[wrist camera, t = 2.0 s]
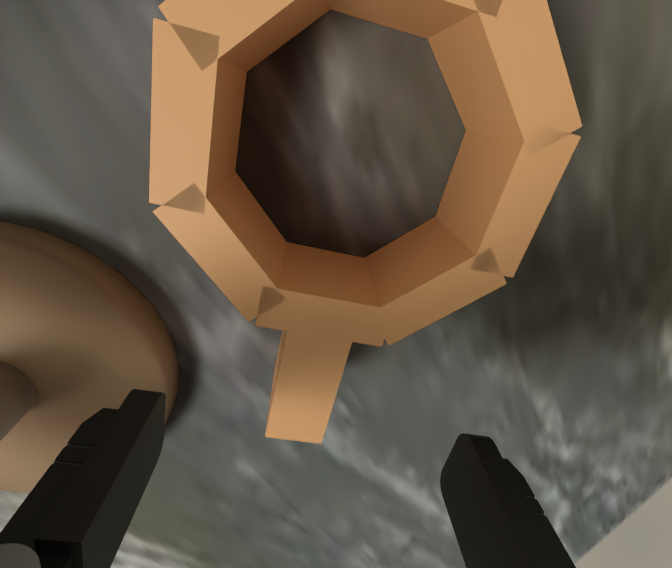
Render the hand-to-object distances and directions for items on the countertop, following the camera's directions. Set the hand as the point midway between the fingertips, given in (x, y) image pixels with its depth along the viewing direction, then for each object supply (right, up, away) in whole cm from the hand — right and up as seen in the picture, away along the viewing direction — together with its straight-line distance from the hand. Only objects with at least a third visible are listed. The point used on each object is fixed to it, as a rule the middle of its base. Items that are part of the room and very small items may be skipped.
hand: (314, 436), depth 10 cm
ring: (+1, +6, +2) cm, 7 cm away
